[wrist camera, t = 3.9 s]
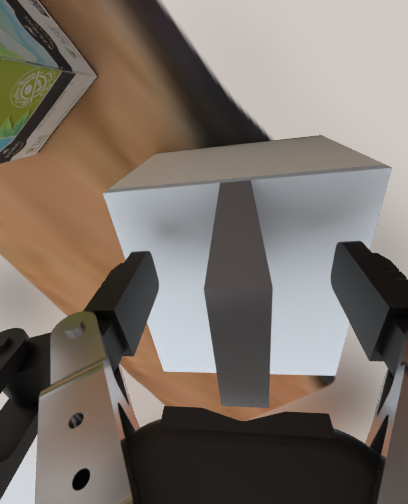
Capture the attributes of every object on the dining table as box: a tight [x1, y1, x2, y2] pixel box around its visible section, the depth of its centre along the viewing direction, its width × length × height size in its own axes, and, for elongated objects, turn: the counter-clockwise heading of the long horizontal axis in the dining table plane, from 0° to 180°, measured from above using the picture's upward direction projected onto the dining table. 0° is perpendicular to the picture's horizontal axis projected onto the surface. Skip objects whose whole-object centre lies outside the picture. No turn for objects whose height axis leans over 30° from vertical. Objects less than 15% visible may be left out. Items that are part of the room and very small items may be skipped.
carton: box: [108, 135, 385, 190], centre depth 21 cm, size 16×14×10 cm
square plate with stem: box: [103, 165, 392, 408], centre depth 13 cm, size 16×14×9 cm
